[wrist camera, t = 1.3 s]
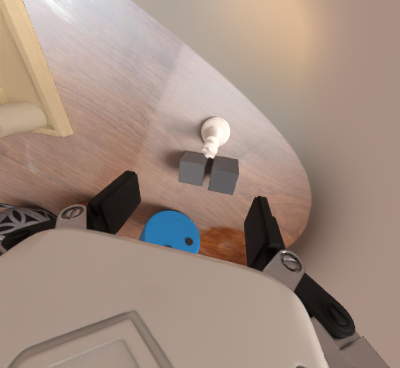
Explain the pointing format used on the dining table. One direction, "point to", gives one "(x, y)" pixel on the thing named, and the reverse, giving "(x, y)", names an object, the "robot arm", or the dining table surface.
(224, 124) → the chess piece
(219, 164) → the slate blocks
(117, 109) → the dining table surface
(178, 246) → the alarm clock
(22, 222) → the teapot
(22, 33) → the pawn tray
